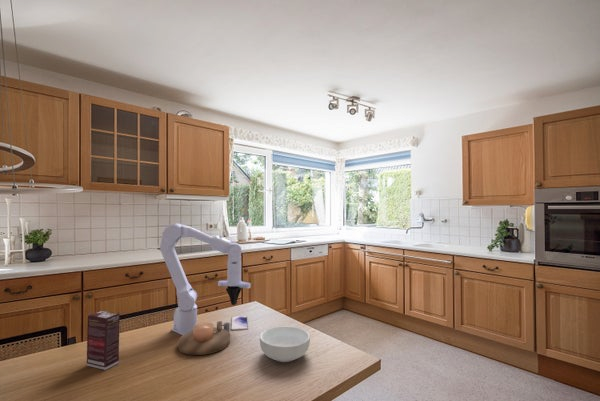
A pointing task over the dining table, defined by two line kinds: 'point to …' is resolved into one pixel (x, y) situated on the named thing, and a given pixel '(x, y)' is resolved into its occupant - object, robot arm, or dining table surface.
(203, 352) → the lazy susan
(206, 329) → the peach knob
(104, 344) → the supplement box
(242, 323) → the smartphone
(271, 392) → the dining table surface
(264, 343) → the cereal bowl
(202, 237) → the robot arm
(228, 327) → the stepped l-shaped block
